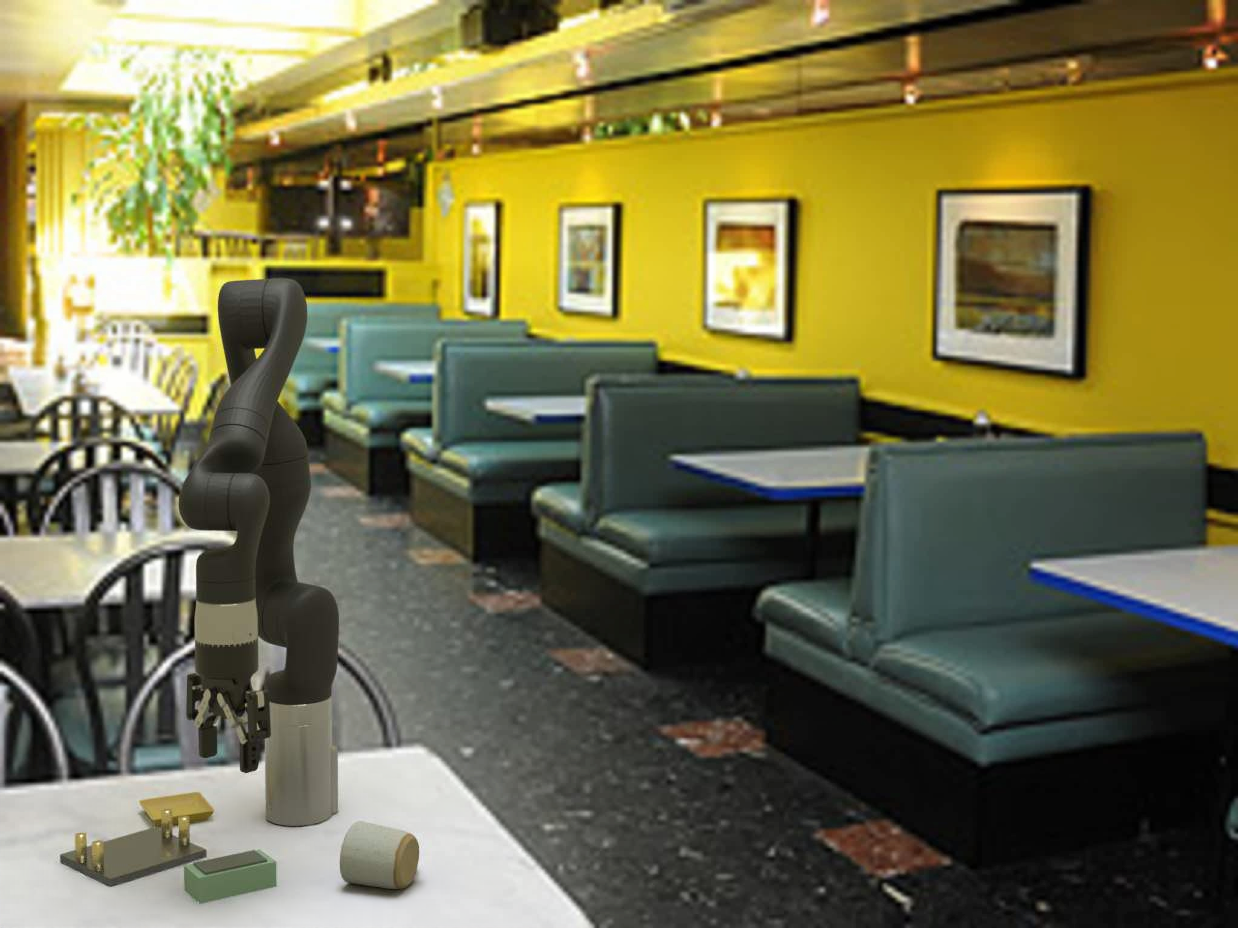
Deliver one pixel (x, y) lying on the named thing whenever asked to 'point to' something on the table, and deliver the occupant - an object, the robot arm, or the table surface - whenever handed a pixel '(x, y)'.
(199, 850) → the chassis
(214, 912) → the table surface
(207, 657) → the robot arm
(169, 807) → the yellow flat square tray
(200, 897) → the green rectangular block
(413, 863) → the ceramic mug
